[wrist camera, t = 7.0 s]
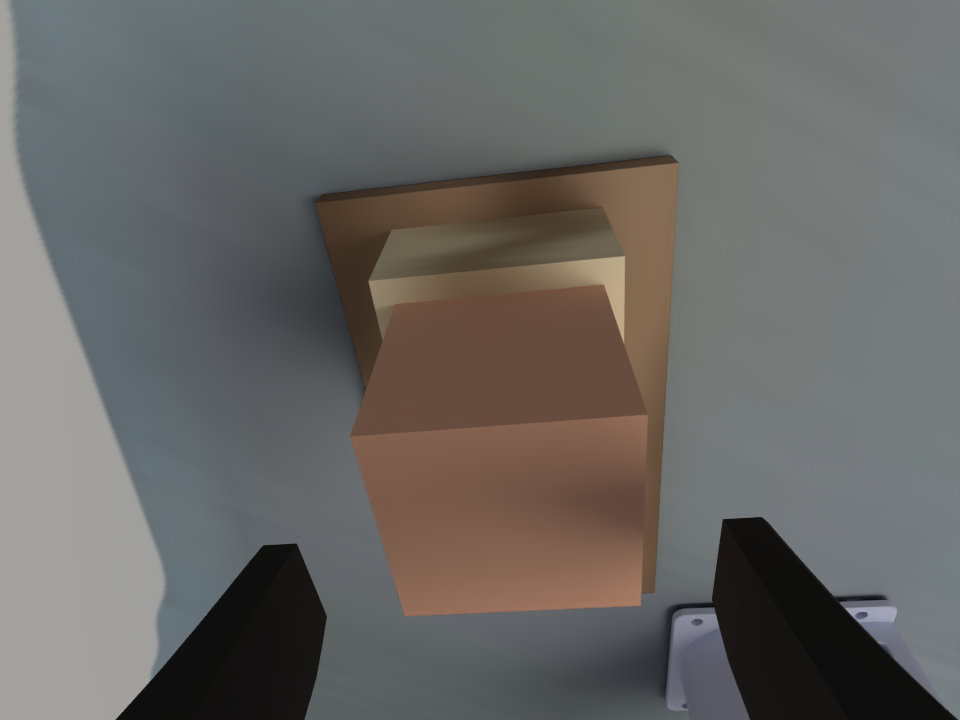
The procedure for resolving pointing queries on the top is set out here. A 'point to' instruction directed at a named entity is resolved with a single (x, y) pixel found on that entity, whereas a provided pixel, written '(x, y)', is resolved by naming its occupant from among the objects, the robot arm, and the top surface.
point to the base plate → (613, 186)
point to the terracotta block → (506, 454)
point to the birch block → (499, 260)
